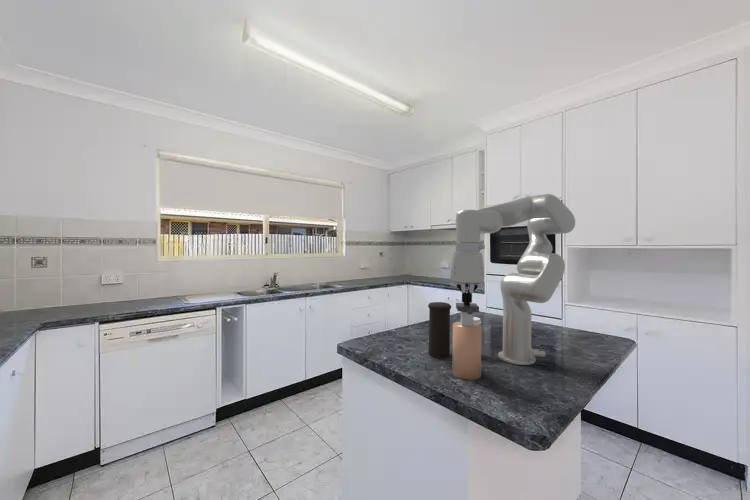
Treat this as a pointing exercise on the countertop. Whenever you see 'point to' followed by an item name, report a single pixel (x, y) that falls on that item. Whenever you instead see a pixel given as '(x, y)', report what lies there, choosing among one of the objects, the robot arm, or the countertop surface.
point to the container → (439, 329)
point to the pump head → (467, 308)
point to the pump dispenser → (466, 348)
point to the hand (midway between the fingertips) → (466, 304)
